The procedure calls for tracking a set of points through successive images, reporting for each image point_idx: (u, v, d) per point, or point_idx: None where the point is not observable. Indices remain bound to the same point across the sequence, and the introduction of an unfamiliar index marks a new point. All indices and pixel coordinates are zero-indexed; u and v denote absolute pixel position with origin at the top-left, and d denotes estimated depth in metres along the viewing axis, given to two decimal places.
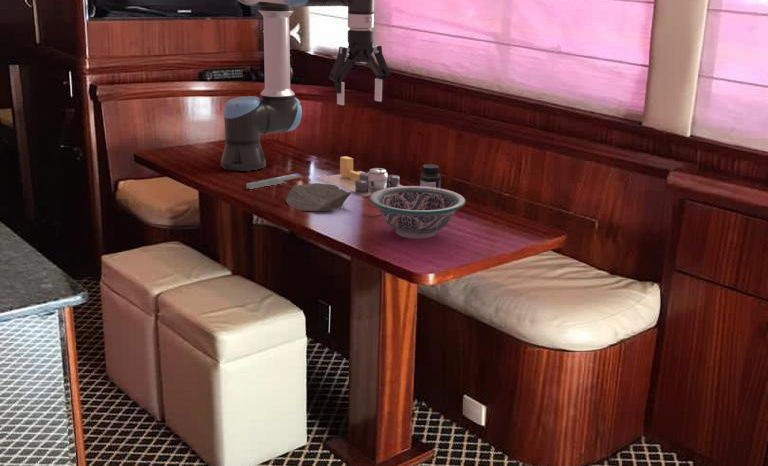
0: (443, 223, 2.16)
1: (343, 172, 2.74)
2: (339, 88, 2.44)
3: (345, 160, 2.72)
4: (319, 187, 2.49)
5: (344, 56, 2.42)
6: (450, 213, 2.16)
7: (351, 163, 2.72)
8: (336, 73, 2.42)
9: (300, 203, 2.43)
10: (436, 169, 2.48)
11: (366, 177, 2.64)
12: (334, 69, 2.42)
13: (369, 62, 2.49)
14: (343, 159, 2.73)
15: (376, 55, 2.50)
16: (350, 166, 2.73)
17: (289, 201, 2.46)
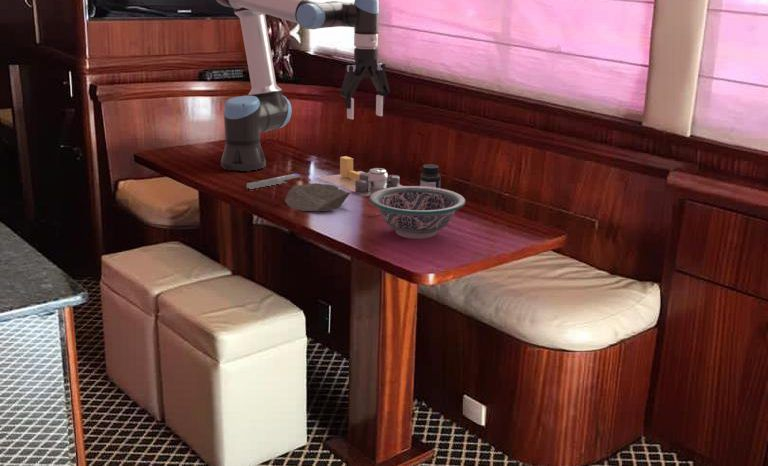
0: (443, 223, 2.16)
1: (343, 172, 2.74)
2: (349, 104, 2.67)
3: (345, 160, 2.72)
4: (318, 187, 2.49)
5: (351, 74, 2.64)
6: (450, 213, 2.16)
7: (351, 163, 2.72)
8: (346, 90, 2.65)
9: (299, 204, 2.43)
10: (436, 169, 2.48)
11: (366, 177, 2.64)
12: (344, 87, 2.65)
13: (372, 78, 2.71)
14: (343, 159, 2.73)
15: (380, 72, 2.72)
16: (350, 166, 2.73)
17: (288, 201, 2.46)
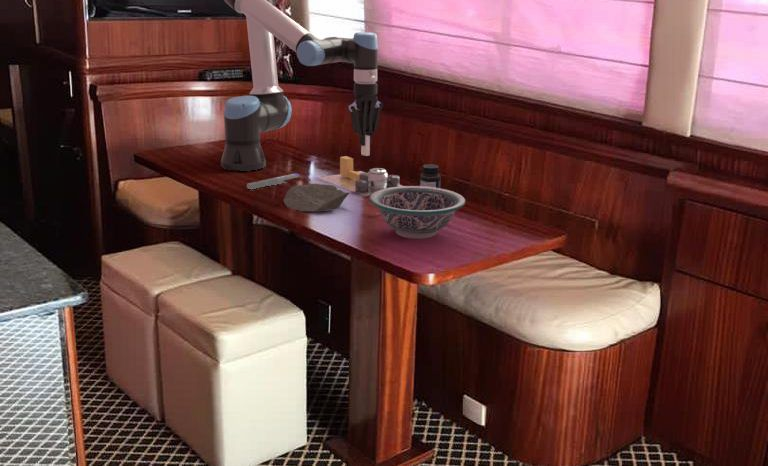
0: (443, 223, 2.16)
1: (343, 172, 2.74)
2: (363, 141, 2.74)
3: (345, 160, 2.72)
4: (317, 187, 2.49)
5: (356, 112, 2.69)
6: (450, 213, 2.16)
7: (351, 163, 2.72)
8: (358, 129, 2.71)
9: (298, 204, 2.43)
10: (436, 169, 2.48)
11: (366, 177, 2.64)
12: (355, 126, 2.71)
13: (367, 113, 2.73)
14: (343, 159, 2.73)
15: (375, 109, 2.75)
16: (350, 166, 2.73)
17: (287, 202, 2.46)
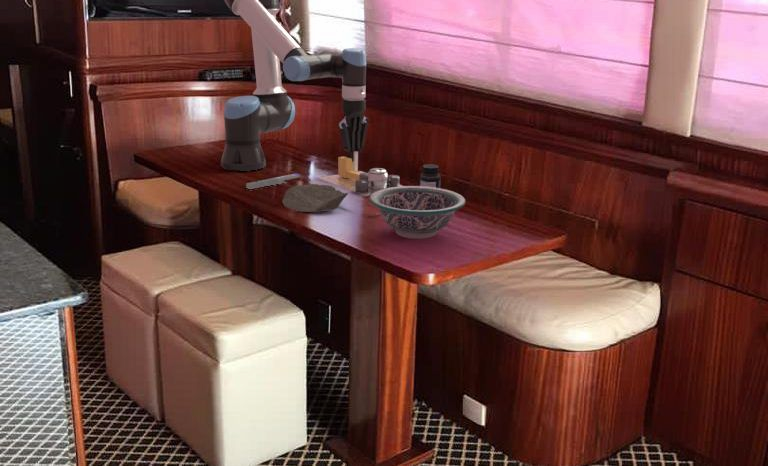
0: (443, 223, 2.16)
1: (341, 172, 2.74)
2: (352, 157, 2.74)
3: (344, 160, 2.71)
4: (315, 188, 2.48)
5: (346, 129, 2.68)
6: (450, 213, 2.16)
7: (350, 163, 2.72)
8: (348, 145, 2.70)
9: (296, 205, 2.42)
10: (436, 169, 2.48)
11: (366, 177, 2.64)
12: (345, 142, 2.70)
13: None
14: (341, 159, 2.72)
15: (362, 125, 2.75)
16: (349, 166, 2.72)
17: (285, 202, 2.45)
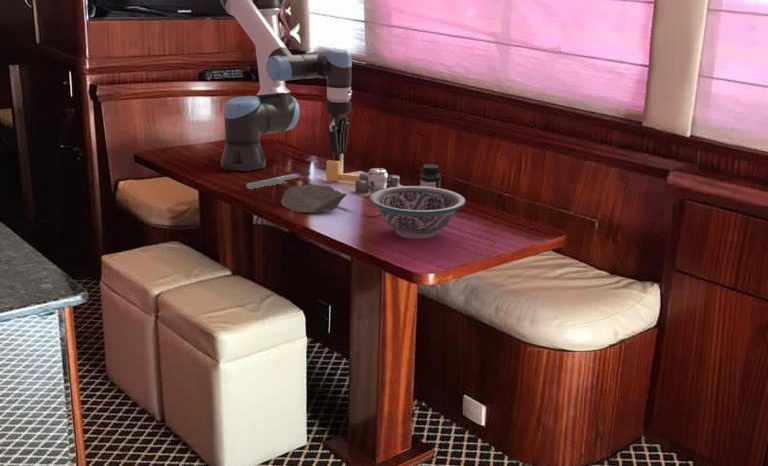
0: (443, 223, 2.16)
1: (331, 176, 2.68)
2: (338, 159, 2.70)
3: (335, 164, 2.67)
4: (314, 188, 2.48)
5: (336, 131, 2.63)
6: (450, 213, 2.16)
7: (340, 166, 2.68)
8: (337, 148, 2.66)
9: (295, 205, 2.42)
10: (436, 169, 2.48)
11: None
12: (333, 145, 2.66)
13: None
14: (332, 163, 2.67)
15: None
16: (339, 169, 2.68)
17: (284, 202, 2.45)
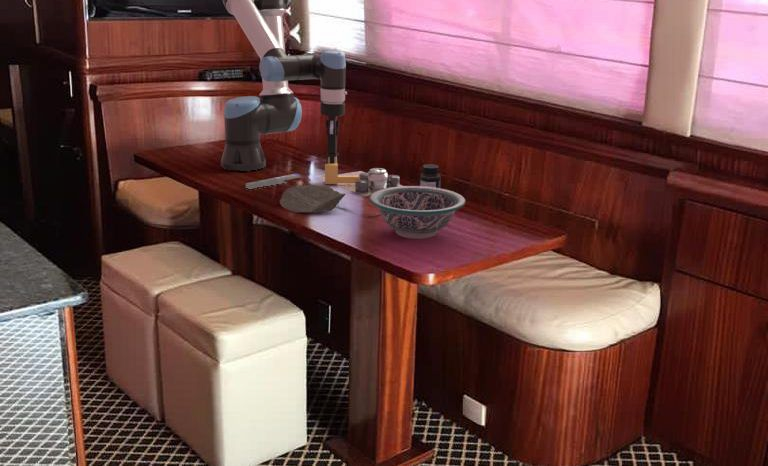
0: (443, 223, 2.16)
1: (330, 180, 2.64)
2: (334, 162, 2.66)
3: (334, 167, 2.63)
4: (313, 189, 2.48)
5: (335, 134, 2.60)
6: (450, 213, 2.16)
7: None
8: (335, 150, 2.62)
9: (294, 205, 2.42)
10: (436, 169, 2.48)
11: None
12: (332, 148, 2.62)
13: None
14: (331, 166, 2.63)
15: None
16: None
17: (283, 203, 2.44)
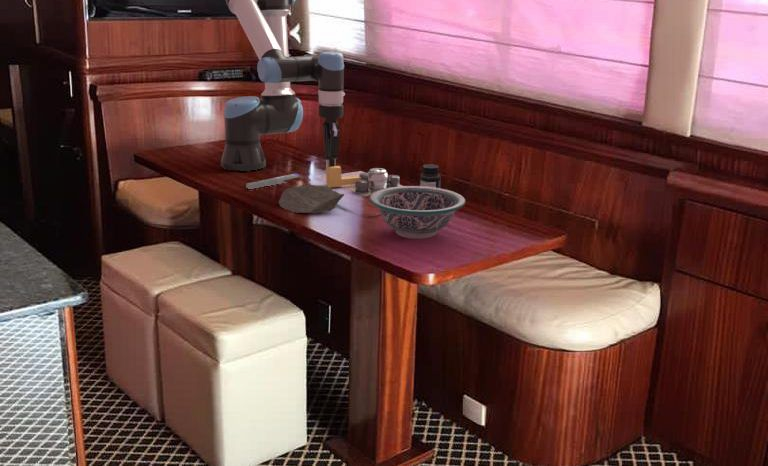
0: (443, 223, 2.16)
1: (334, 183, 2.61)
2: None
3: (338, 169, 2.60)
4: (312, 189, 2.47)
5: None
6: (450, 213, 2.16)
7: None
8: (337, 152, 2.59)
9: (293, 205, 2.41)
10: (436, 169, 2.48)
11: None
12: (334, 150, 2.58)
13: None
14: (334, 169, 2.59)
15: None
16: None
17: (282, 203, 2.44)
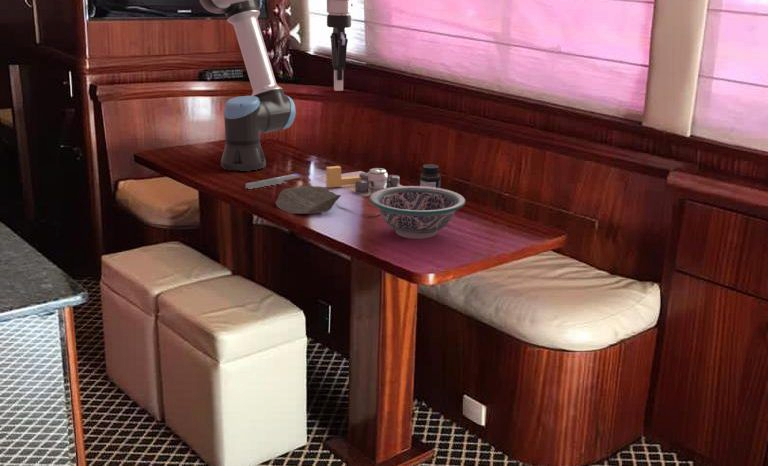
0: (443, 223, 2.16)
1: (334, 183, 2.61)
2: None
3: (338, 169, 2.60)
4: (309, 189, 2.46)
5: None
6: (450, 213, 2.16)
7: None
8: None
9: (289, 206, 2.41)
10: (436, 169, 2.48)
11: None
12: (342, 60, 2.64)
13: None
14: (334, 169, 2.59)
15: None
16: None
17: (278, 204, 2.43)
